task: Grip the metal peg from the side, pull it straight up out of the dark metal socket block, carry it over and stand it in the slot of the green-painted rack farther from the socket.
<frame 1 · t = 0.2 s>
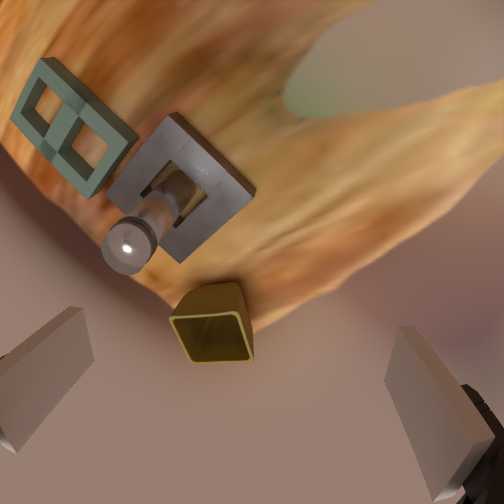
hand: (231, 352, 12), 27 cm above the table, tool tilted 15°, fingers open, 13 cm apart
rack: (73, 123, 34), on the table
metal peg: (156, 212, 31), in the socket block
flower pot: (224, 295, 46), on the table
socket block: (180, 186, 38), on the table
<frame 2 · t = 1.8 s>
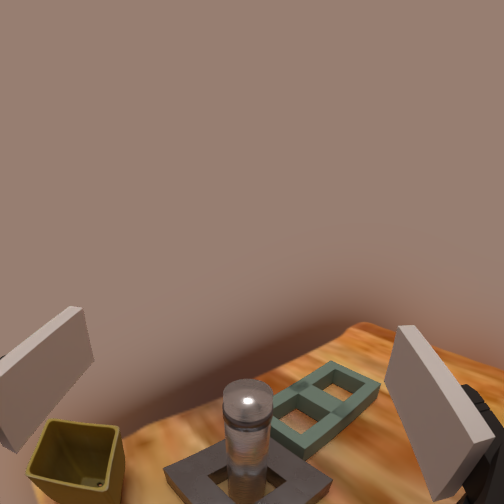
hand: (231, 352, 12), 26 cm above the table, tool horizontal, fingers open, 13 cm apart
rack: (317, 412, 42), on the table
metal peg: (247, 452, 26), in the socket block
flower pot: (99, 497, 24), on the table
socket block: (246, 492, 28), on the table
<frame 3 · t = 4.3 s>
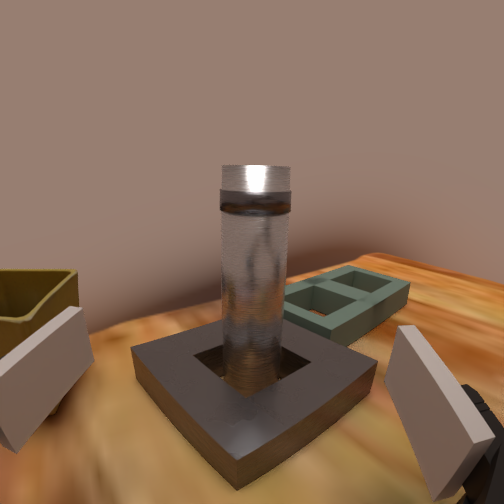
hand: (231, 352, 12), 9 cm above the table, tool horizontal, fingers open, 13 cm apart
rack: (339, 313, 36), on the table
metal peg: (253, 294, 20), in the socket block
flower pot: (38, 396, 19), on the table
socket block: (250, 391, 22), on the table
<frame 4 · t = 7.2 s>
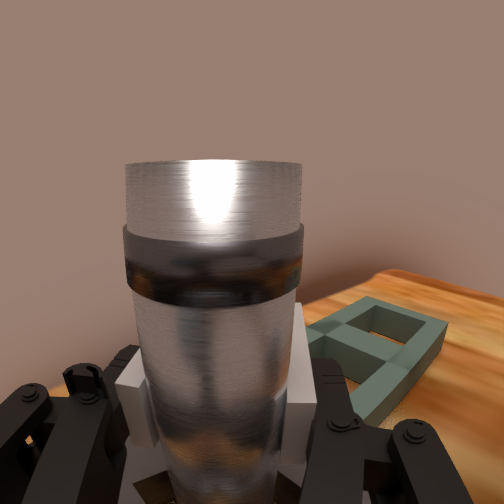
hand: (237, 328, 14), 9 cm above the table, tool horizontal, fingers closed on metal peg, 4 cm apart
rack: (357, 370, 25), on the table
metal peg: (219, 429, 9), in the socket block, touching gripper
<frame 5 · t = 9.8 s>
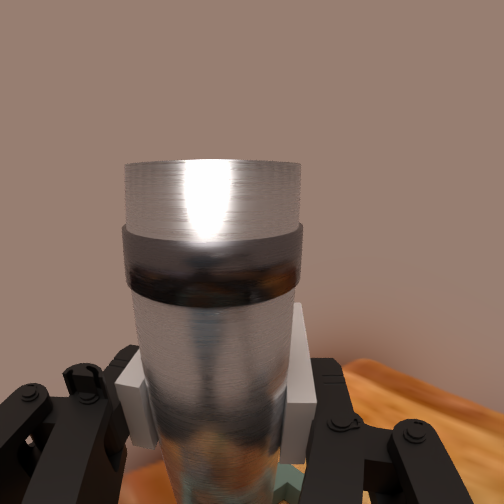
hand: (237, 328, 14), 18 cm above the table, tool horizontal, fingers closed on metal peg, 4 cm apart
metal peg: (218, 429, 9), point 17 cm above the table, touching gripper
when the fingers open (10 cm above the table, at t = 12.4 s): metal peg drops 1 cm, resting in rack.
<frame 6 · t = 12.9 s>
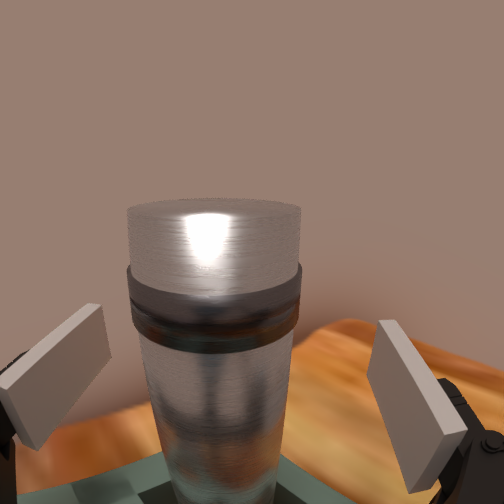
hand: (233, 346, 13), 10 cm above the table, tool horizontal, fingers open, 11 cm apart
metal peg: (221, 448, 9), in the rack
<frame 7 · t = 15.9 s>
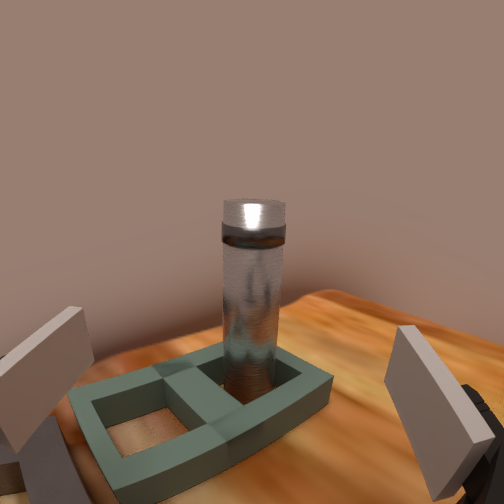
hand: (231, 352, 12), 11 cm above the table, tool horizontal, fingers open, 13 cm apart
rack: (203, 420, 22), on the table
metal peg: (250, 314, 23), in the rack
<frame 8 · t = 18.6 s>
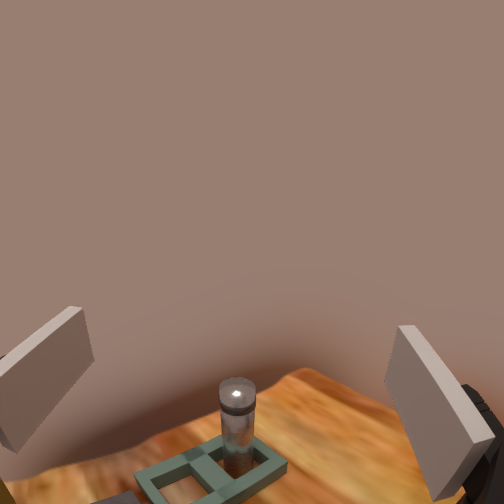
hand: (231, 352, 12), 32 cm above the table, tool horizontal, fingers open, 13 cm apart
rack: (212, 482, 34), on the table
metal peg: (237, 434, 35), in the rack
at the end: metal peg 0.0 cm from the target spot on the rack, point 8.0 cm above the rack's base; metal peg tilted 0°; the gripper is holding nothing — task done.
